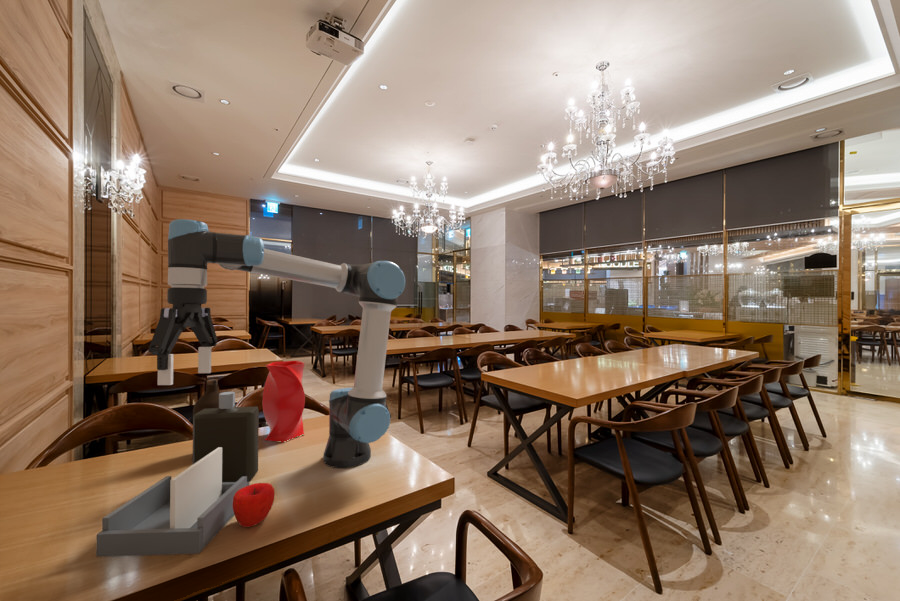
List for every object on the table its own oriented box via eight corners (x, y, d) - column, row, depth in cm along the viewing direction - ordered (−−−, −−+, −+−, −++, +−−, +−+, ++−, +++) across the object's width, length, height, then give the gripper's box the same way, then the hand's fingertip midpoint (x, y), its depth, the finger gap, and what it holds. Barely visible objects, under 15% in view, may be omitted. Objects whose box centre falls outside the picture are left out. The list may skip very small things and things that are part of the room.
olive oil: (186, 461, 119) (187, 384, 119) (200, 448, 129) (201, 377, 129) (222, 458, 121) (223, 382, 121) (234, 446, 131) (234, 376, 132)
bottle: (251, 483, 104) (251, 395, 105) (188, 488, 101) (189, 397, 102) (260, 470, 112) (261, 389, 112) (202, 475, 109) (203, 391, 110)
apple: (262, 534, 81) (262, 499, 81) (222, 534, 82) (223, 498, 82) (281, 511, 90) (281, 479, 90) (245, 511, 90) (246, 479, 91)
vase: (280, 428, 150) (280, 360, 151) (313, 429, 149) (314, 360, 149) (257, 442, 135) (257, 366, 136) (294, 444, 134) (294, 367, 134)
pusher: (221, 498, 94) (222, 447, 94) (174, 542, 77) (175, 479, 77) (197, 498, 94) (198, 447, 94) (144, 543, 76) (145, 480, 76)
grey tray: (249, 498, 96) (249, 472, 96) (199, 553, 75) (199, 519, 75) (169, 500, 95) (170, 473, 95) (96, 556, 74) (96, 521, 74)
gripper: (204, 289, 98) (203, 368, 98) (126, 284, 73) (124, 391, 73) (233, 289, 98) (232, 368, 98) (165, 284, 73) (164, 390, 73)
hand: (186, 378), depth 85 cm, fingers open, 13 cm apart
